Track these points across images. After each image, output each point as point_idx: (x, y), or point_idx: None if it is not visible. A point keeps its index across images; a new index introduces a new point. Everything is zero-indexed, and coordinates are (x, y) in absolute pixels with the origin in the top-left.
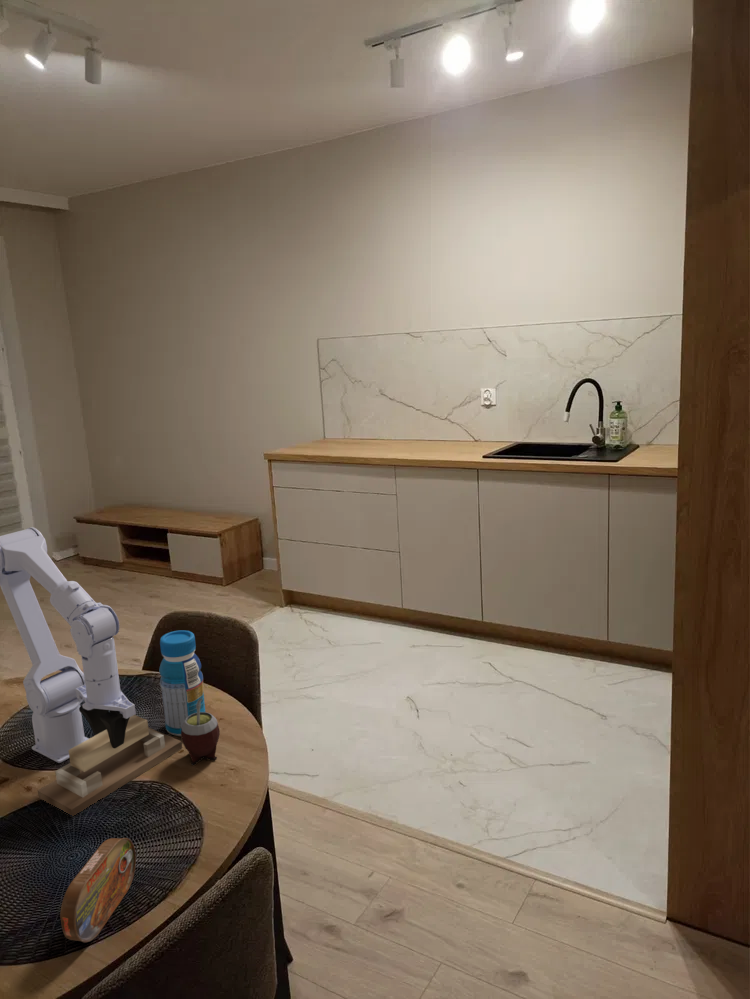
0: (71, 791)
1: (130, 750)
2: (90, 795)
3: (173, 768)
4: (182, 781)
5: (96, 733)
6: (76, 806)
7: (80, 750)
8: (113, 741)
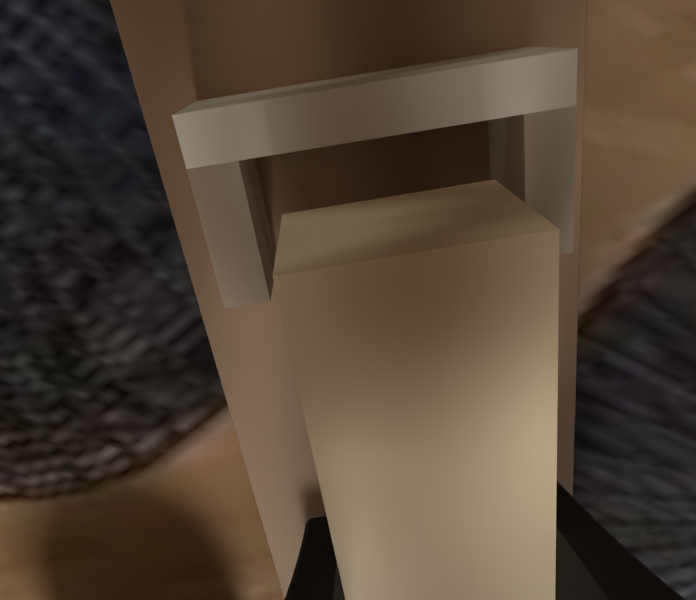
0: (340, 77)
1: None
2: (180, 153)
3: (182, 561)
4: (40, 544)
5: (563, 542)
6: (113, 8)
7: (423, 320)
8: (290, 582)
